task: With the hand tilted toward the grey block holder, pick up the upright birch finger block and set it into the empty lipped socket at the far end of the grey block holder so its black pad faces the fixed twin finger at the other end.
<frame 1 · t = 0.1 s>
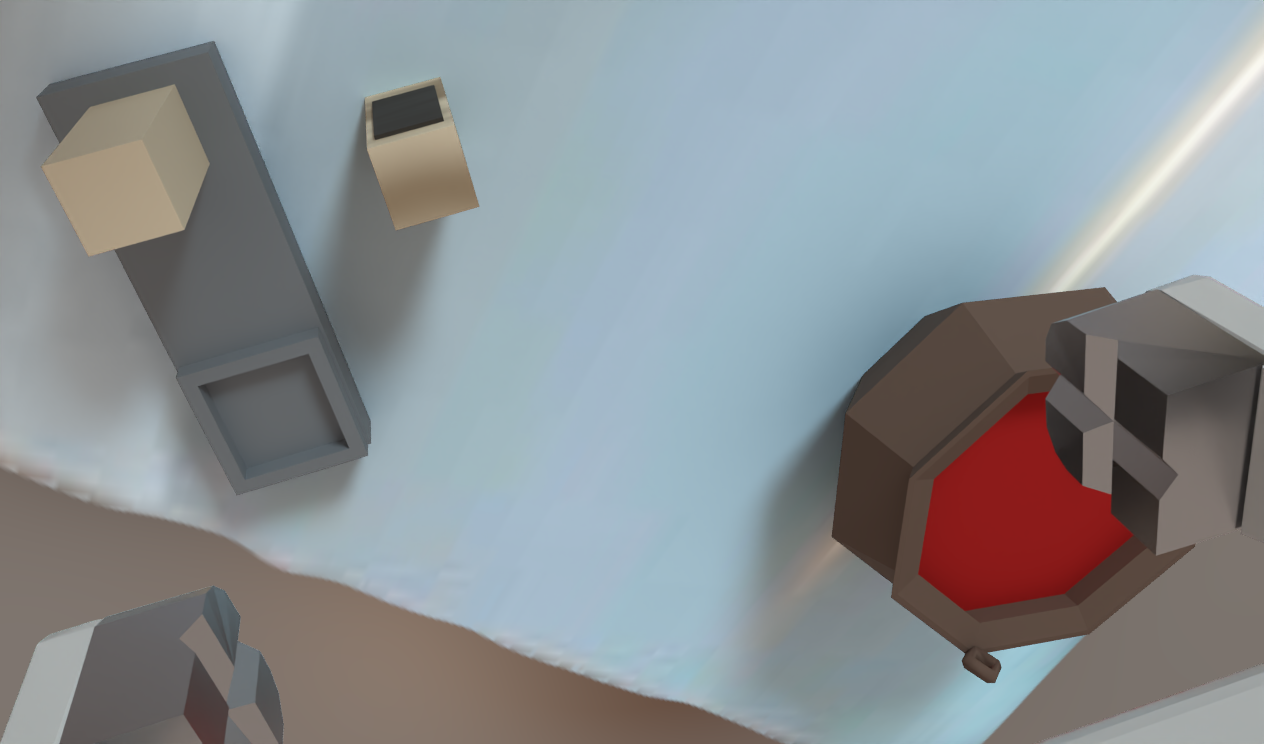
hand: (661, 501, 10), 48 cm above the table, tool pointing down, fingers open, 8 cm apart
brown cauldron: (947, 396, 73), on the table
grey block holder: (227, 271, 57), on the table
finger block: (414, 123, 55), on the table
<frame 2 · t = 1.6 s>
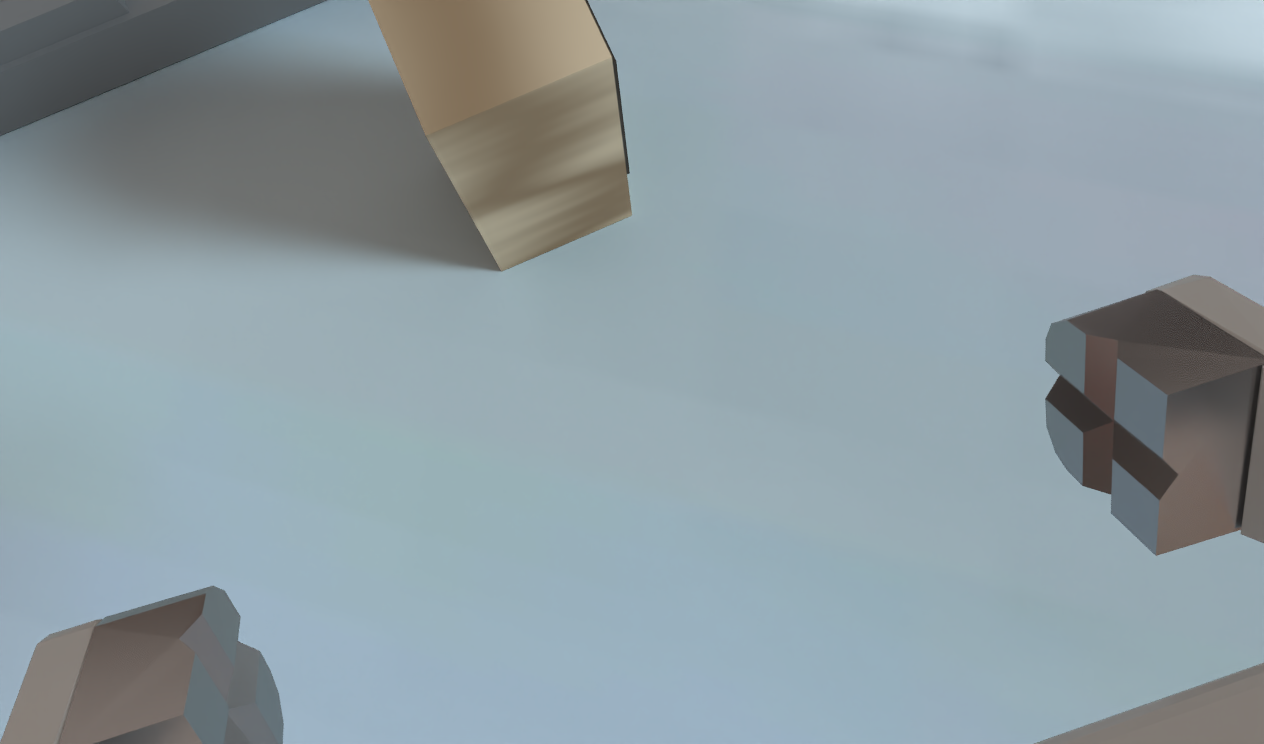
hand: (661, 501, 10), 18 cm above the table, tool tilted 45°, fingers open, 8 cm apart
finger block: (539, 182, 30), on the table
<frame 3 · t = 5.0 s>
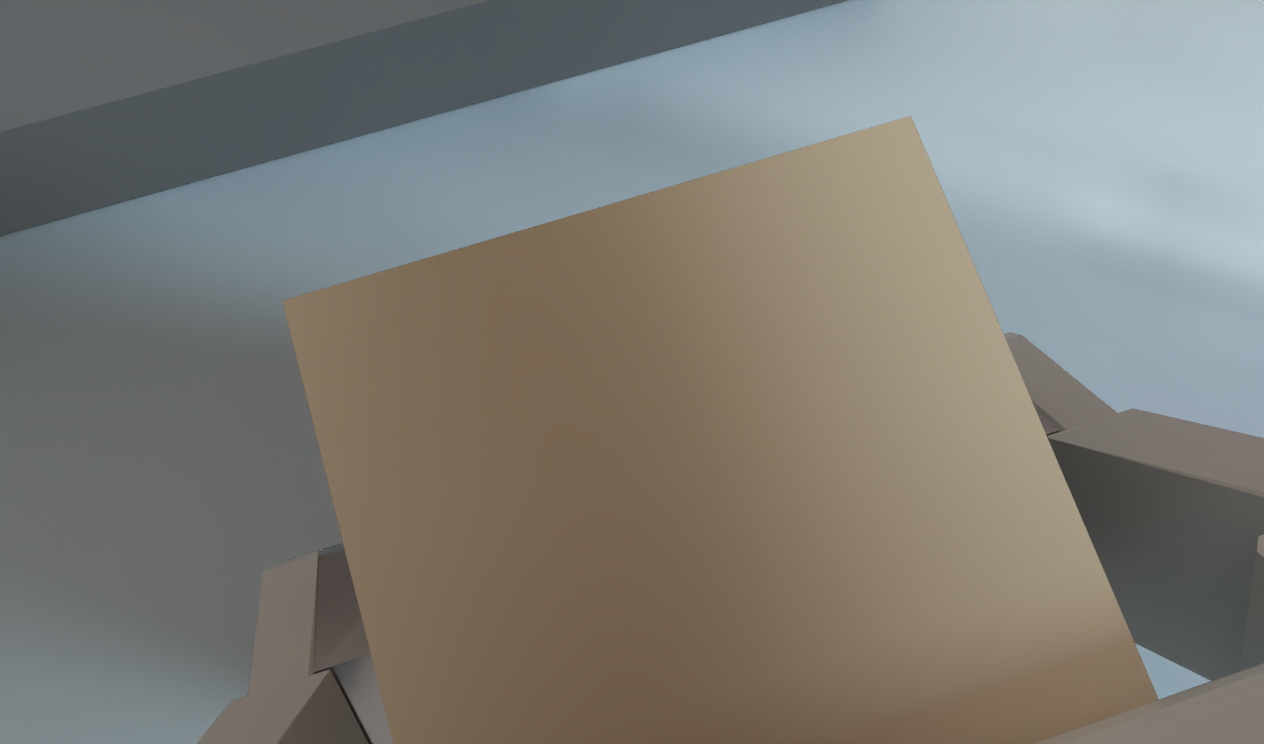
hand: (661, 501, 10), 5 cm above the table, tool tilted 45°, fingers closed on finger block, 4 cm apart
finger block: (658, 592, 15), on the table, touching gripper
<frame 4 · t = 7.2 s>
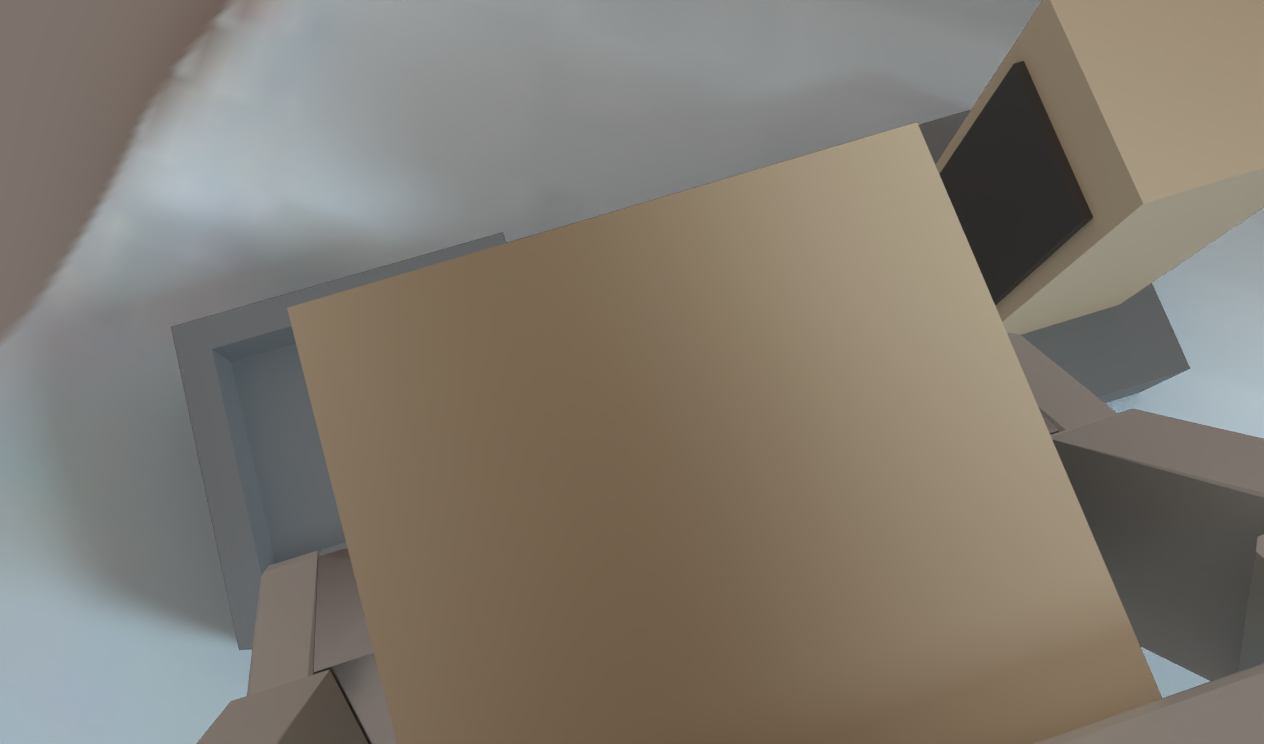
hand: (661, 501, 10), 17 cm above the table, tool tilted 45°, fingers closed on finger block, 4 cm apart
grey block holder: (683, 375, 28), on the table
finger block: (660, 595, 15), point 12 cm above the table, touching gripper
when the fingers open (9 cm above the table, at t = 9.5 s): finger block drops 1 cm, resting on grey block holder.
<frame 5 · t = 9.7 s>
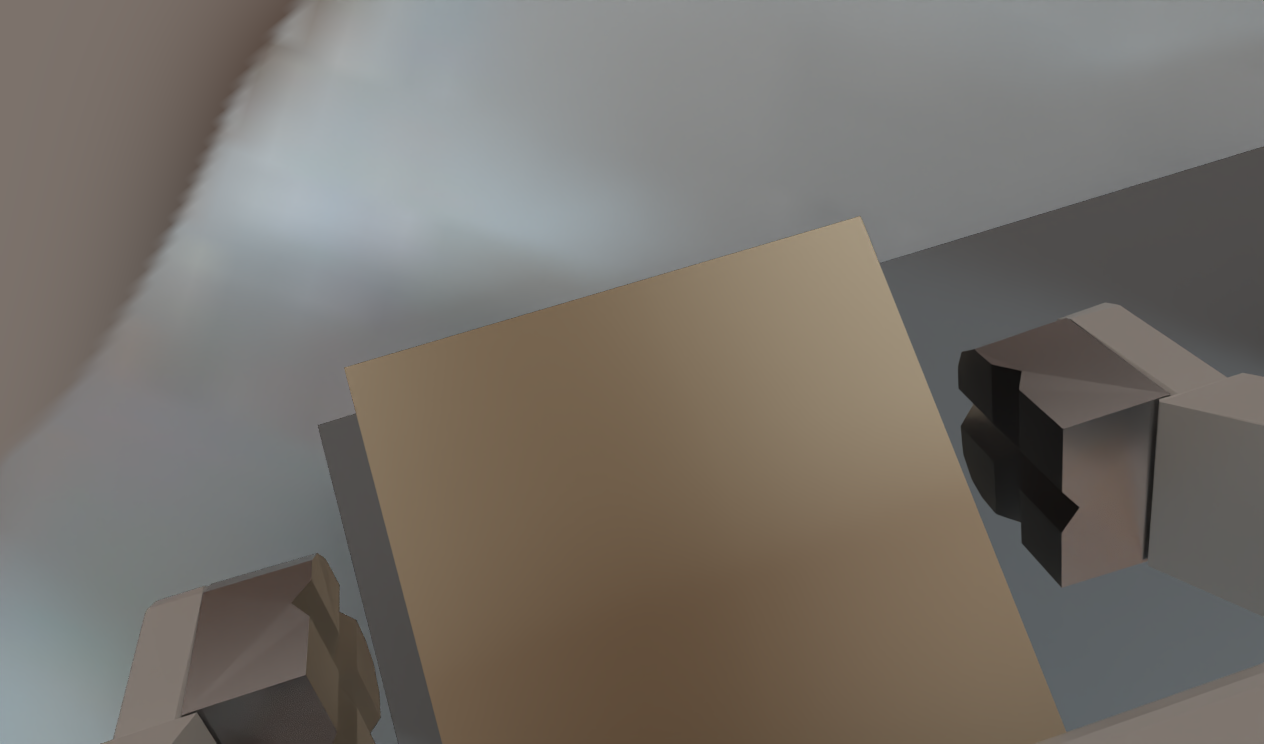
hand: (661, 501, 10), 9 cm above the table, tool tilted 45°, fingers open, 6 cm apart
grey block holder: (1039, 473, 19), on the table
finger block: (644, 602, 16), point 3 cm above the table, touching grey block holder
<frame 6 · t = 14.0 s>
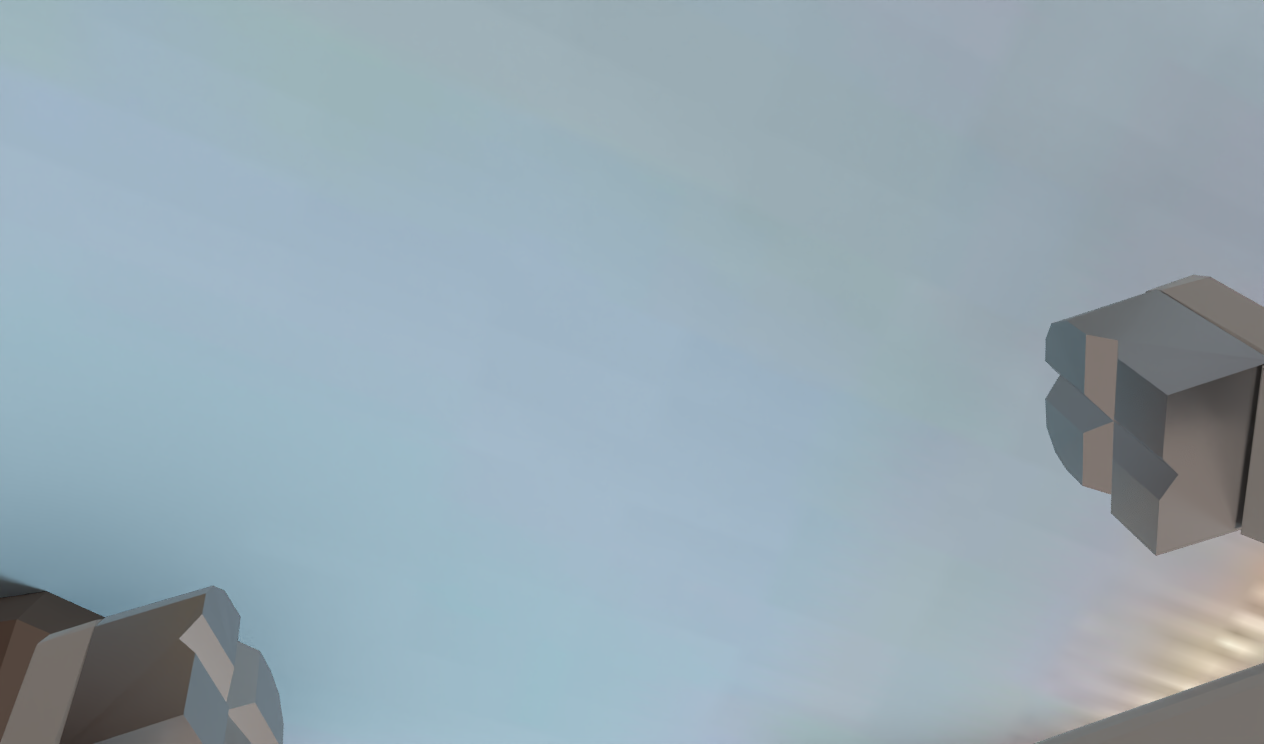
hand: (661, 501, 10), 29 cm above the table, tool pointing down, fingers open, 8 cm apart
brown cauldron: (21, 716, 45), on the table
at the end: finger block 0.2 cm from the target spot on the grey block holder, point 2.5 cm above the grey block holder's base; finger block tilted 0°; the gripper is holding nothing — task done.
